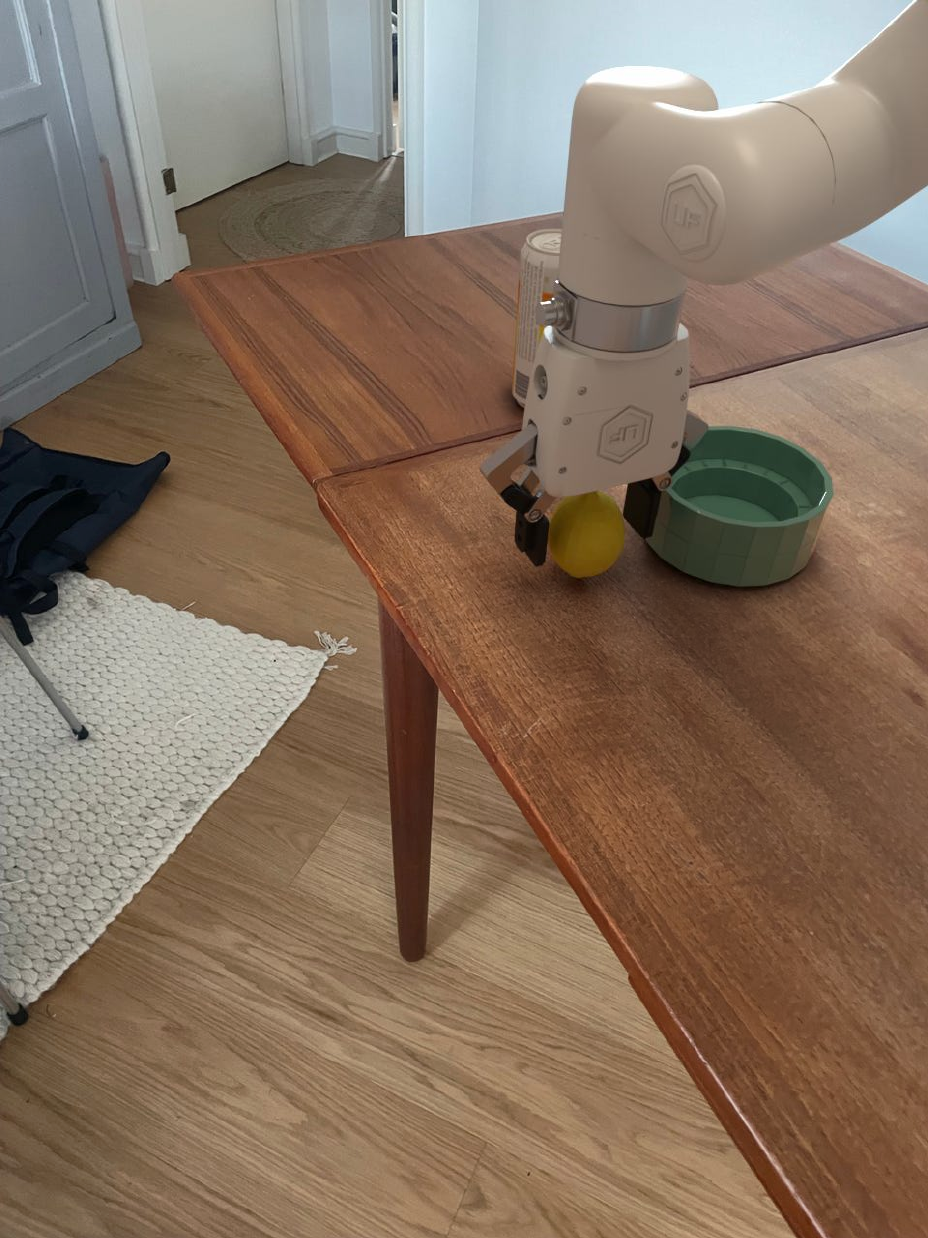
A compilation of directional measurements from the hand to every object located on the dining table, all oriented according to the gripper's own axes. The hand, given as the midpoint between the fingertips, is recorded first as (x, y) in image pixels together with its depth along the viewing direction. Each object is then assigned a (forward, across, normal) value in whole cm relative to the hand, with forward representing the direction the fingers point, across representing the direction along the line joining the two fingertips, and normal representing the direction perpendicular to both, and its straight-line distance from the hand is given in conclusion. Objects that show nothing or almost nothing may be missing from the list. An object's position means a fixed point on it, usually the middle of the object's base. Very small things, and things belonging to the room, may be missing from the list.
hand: (584, 539), depth 67 cm
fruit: (+4, 0, 0) cm, 4 cm away
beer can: (+4, +9, +24) cm, 26 cm away
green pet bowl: (+3, +13, 0) cm, 13 cm away
